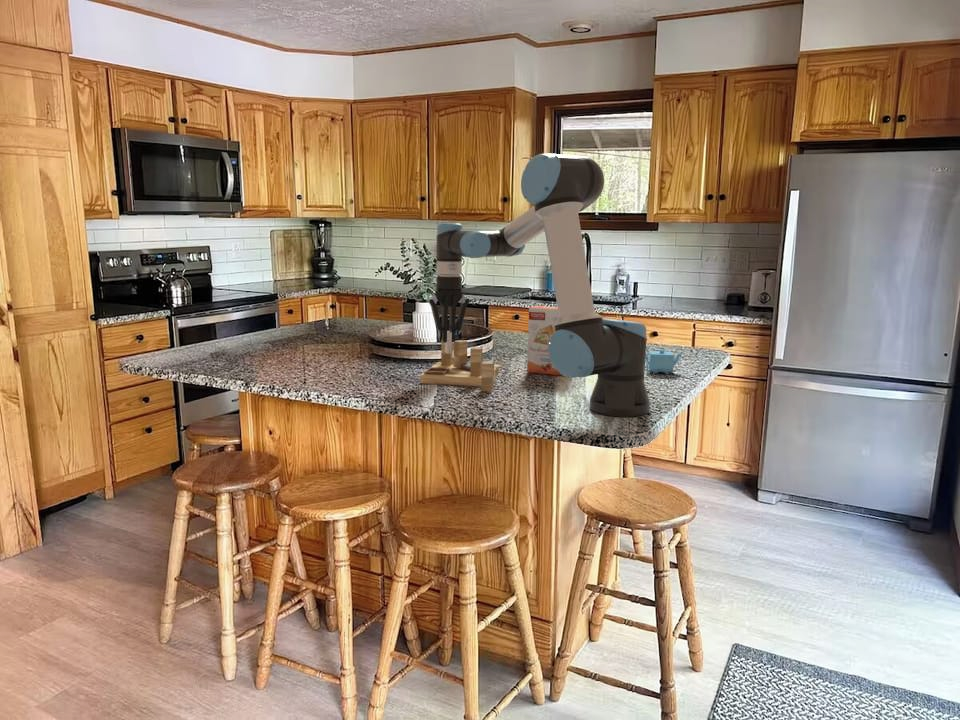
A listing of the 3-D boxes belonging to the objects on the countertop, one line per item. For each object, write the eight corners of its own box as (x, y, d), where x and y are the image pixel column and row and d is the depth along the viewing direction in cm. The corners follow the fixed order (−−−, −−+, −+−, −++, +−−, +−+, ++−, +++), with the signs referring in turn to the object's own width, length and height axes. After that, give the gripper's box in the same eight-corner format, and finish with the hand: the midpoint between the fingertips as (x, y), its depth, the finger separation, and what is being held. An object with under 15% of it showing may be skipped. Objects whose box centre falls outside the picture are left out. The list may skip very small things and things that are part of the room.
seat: (486, 386, 207) (487, 351, 205) (420, 383, 211) (420, 348, 209) (499, 372, 226) (499, 339, 224) (438, 369, 230) (438, 337, 228)
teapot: (682, 371, 229) (683, 348, 228) (683, 375, 224) (685, 352, 222) (643, 370, 232) (645, 347, 230) (644, 374, 226) (645, 350, 224)
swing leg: (485, 370, 215) (485, 344, 214) (478, 371, 213) (479, 345, 211) (460, 365, 222) (460, 340, 221) (453, 366, 220) (453, 341, 219)
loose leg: (491, 391, 201) (492, 363, 200) (481, 390, 202) (481, 363, 200) (493, 389, 204) (494, 361, 202) (483, 388, 205) (483, 361, 203)
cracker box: (526, 373, 226) (527, 307, 222) (532, 369, 231) (533, 305, 227) (569, 377, 221) (571, 309, 216) (574, 373, 226) (576, 307, 222)
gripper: (431, 276, 209) (430, 355, 213) (473, 276, 213) (471, 354, 217) (425, 274, 216) (424, 351, 220) (465, 274, 220) (464, 349, 224)
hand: (448, 352), depth 219 cm, fingers closed
